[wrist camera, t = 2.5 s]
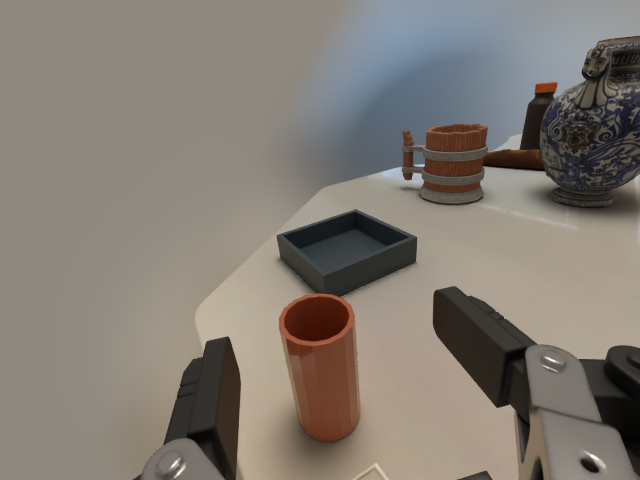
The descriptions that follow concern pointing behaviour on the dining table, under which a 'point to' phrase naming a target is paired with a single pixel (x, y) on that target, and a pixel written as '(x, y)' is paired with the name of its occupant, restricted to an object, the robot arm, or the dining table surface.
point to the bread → (515, 159)
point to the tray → (346, 251)
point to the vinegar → (536, 115)
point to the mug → (449, 162)
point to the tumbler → (322, 364)
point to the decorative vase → (595, 127)
